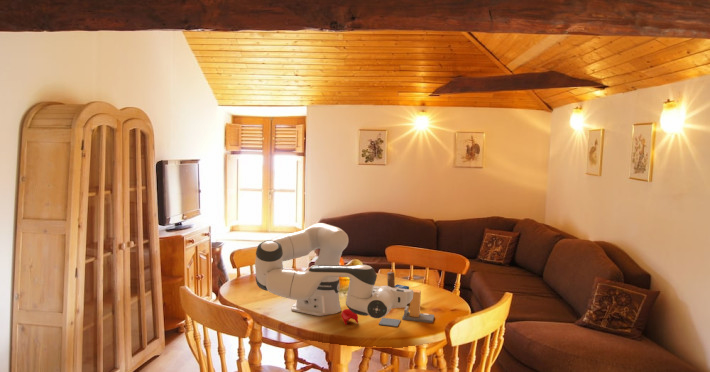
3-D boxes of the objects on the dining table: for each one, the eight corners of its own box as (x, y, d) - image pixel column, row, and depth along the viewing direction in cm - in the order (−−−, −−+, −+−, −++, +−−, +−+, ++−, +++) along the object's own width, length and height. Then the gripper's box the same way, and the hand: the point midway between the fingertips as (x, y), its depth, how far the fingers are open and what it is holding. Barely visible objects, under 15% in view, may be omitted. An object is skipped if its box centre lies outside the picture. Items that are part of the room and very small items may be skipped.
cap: (339, 318, 208) (352, 312, 207) (338, 309, 214) (351, 303, 213) (349, 331, 211) (361, 325, 210) (348, 322, 217) (360, 315, 216)
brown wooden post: (387, 306, 212) (386, 273, 211) (388, 304, 215) (388, 272, 214) (394, 306, 211) (393, 273, 210) (395, 304, 214) (395, 272, 213)
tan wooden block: (409, 316, 220) (410, 291, 219) (410, 313, 224) (411, 289, 223) (418, 317, 219) (419, 292, 218) (419, 314, 223) (420, 290, 222)
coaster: (378, 324, 211) (378, 323, 211) (382, 318, 219) (382, 317, 219) (397, 327, 209) (397, 325, 209) (400, 320, 217) (400, 319, 217)
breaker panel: (402, 319, 219) (402, 310, 218) (405, 313, 226) (405, 305, 226) (432, 323, 216) (432, 313, 215) (434, 317, 223) (434, 308, 223)
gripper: (359, 302, 203) (367, 293, 216) (409, 308, 198) (414, 298, 211) (360, 287, 202) (368, 278, 216) (410, 292, 197) (415, 283, 211)
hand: (391, 288), depth 213 cm, fingers closed on brown wooden post, 3 cm apart
